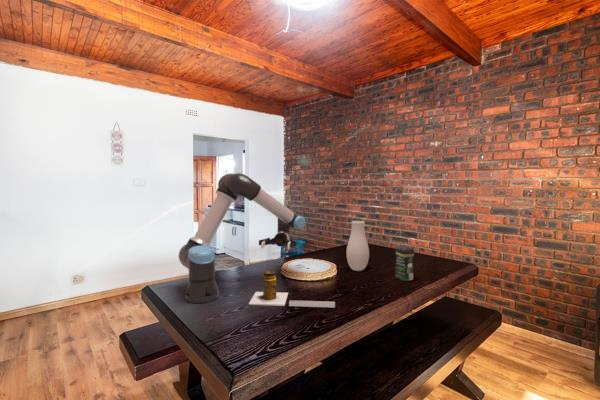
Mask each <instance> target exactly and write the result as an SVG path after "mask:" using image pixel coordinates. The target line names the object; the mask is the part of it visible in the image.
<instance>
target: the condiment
mask: <svg viewBox="0 0 600 400" xmlns="http://www.w3.org/2000/svg"><path fill="white" fill-rule="evenodd" d="M262 285H263V286H262V288H263V289H262V292H263V295H261V296H257V298H258V299H260V300H261V301H262V302H266V301H270V300H275V299H279V297H277V296H276V292H277V277H276V272H275V271H274V270H267V271H264V273H263V278H262Z"/></svg>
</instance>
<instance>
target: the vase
mask: <svg viewBox="0 0 600 400" xmlns="http://www.w3.org/2000/svg"><path fill="white" fill-rule="evenodd" d="M365 226H366V223H365V221H363V220H353V221H351V230H350V235H349V240H348V242H347V246H346V252H345V254H346V260H347V264H348V265H349V268H350V269H351V270H352V271H354V272H355V271H356V272H361V271H364V270H365V269H366V267H367V266H368V263H369V260H370V248H369V244H368V239H367V236H366V231H365V230H366V229H365Z"/></svg>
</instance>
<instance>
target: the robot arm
mask: <svg viewBox="0 0 600 400" xmlns="http://www.w3.org/2000/svg"><path fill="white" fill-rule="evenodd" d="M215 194H216V197H215V198H214V200H213V202H212V204H211V205H210V208H209V209H208V211H207V213H206V215H205V216H204V218H203V220H202V222H201V224H200V225H199V227H198V229H197V231H196V232H195V234H194V236H193V237H190V238H189V239H188V241H187V242H186V243H185V244H184V245H183V246H182V247H181V248H180V249H179V251H178V259H179V261H180V263H181V265H182V266H183V267H185V268H186V269H187V270H188V285H187V288H186V290H185V293H184V294H185V295H184V298H185V299H186V300H185V301H186V302H187V301H188V303H191V304H204V303H209V302H212V301H214V300H216V299H218V298H219V296H220V290H219V287H218V285H217V282H216V267H215V266H216V265H215V263H216V262H215V261H216V259H215V258H216V254H215V250H214V248H213V247H212V246H211V242H212V241H213V238H214V237H215V235H216V232H217V231H218V229H219V227H220V226H221V223H222V222H223V220H224V218H225V217H226V214H227V213H228V211H229V208H230V207H231V205H232V204H234V203H237V202H236V201H237V200H238V198H239V197H241V198H245V199H246V200H248V201H249V202H252V201H253V202H254V203H256V204H257V205H259V206H261V208H263V209H264V210H265V211H268V212H269V213H270V214H272V215H273V216H275V217H276V218H277V233H276V234H275V236H274V237H272V238H271V237H267V238H263V239H259V240H258V246H260V249H264V248H265V247H266V246H269V245H275V246H278V247H284V246H287V250H290V248H292V247H297V241H296V240H294V239H293V238H291V232H290V231H291V228H292V229H295V230H302V229H304V227H306V223H307V222H306V219H305V217H304V216H302V215H298V214H296V213H295V212H293V210H291V209H290V208H288V207H287V206H286V205H284V204H283V203H281V202H280V201H278V199H276V198H274V197H273V196H272V195H271V194H269V193H268V192H266V190H264V189H262V186H261V185H260V184H259V183H258V182H257V181H255V180H253V179H252V178H251V177H249V176H247V175H246V174H244V173H232V172H231V173H227V174H224V175H222V176H221V177H220V178H219V179H218V183H217V188H216V191H215Z"/></svg>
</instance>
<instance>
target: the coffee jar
mask: <svg viewBox="0 0 600 400" xmlns="http://www.w3.org/2000/svg"><path fill="white" fill-rule="evenodd" d="M414 256H415V250H414V248H413V247H409V246H406V245H397V246H396V247H395V261H396V262H395V268H394V270H395V271H394V277H395V278H396V279H398V280H400V281H402V282H403V281H404V282H412V281H413V280H414V266H413V265H414Z"/></svg>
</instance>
